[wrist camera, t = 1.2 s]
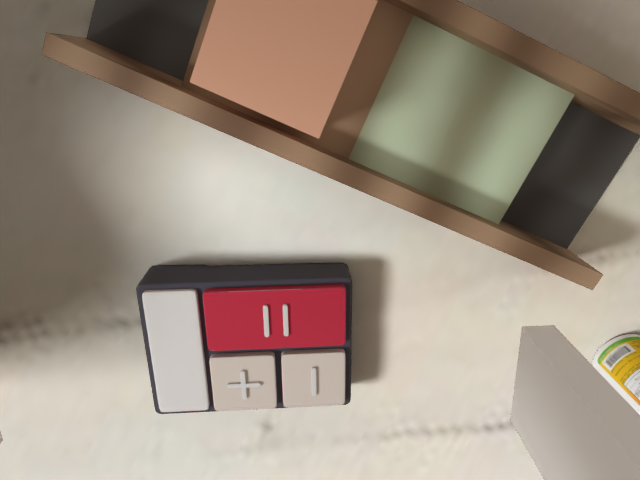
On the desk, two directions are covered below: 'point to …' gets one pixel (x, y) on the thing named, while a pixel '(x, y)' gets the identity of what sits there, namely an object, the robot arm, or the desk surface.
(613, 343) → the supplement bottle
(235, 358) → the calculator
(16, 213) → the desk surface
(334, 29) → the block
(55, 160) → the desk surface
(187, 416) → the desk surface
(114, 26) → the trap channel
